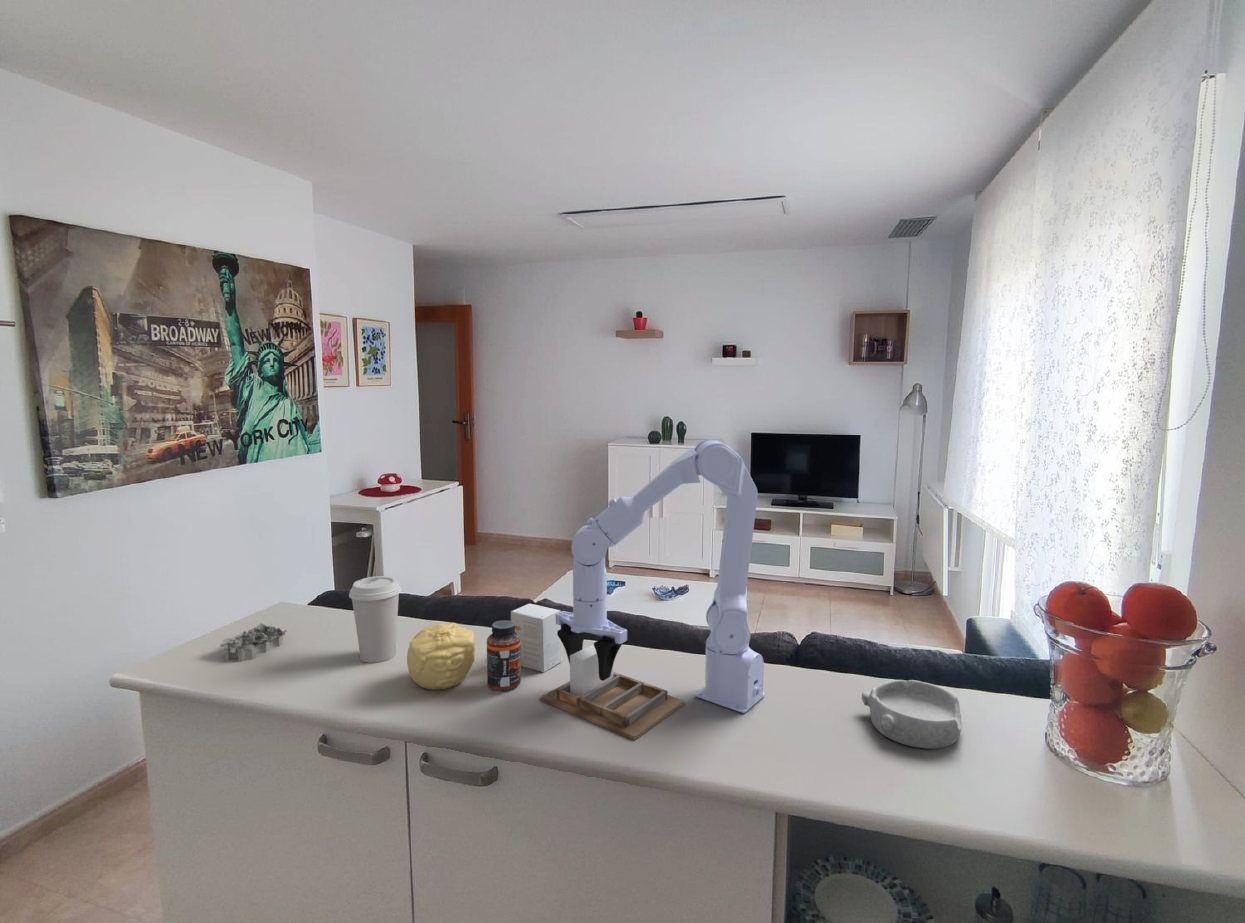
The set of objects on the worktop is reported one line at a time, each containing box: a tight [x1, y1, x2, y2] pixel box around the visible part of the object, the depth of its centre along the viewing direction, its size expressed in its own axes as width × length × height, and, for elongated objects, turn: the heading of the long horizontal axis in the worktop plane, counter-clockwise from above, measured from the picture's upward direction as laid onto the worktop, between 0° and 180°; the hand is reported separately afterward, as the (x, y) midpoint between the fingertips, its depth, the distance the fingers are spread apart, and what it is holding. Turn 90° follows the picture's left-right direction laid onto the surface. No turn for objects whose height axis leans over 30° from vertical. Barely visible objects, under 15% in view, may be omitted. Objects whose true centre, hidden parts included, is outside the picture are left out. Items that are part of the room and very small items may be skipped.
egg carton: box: [219, 623, 288, 662], centre depth 127 cm, size 11×8×4 cm
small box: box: [510, 603, 563, 673], centre depth 121 cm, size 8×6×10 cm
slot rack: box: [539, 671, 685, 741], centre depth 106 cm, size 20×14×2 cm
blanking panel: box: [569, 643, 614, 697], centre depth 109 cm, size 3×8×7 cm, turn 143°
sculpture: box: [406, 622, 476, 691], centre depth 113 cm, size 12×12×11 cm
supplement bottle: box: [486, 620, 522, 692], centre depth 112 cm, size 6×6×11 cm
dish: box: [861, 679, 963, 750], centre depth 99 cm, size 14×14×5 cm
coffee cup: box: [348, 575, 402, 664], centre depth 124 cm, size 10×10×15 cm
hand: (590, 672), depth 109 cm, fingers open, 6 cm apart
